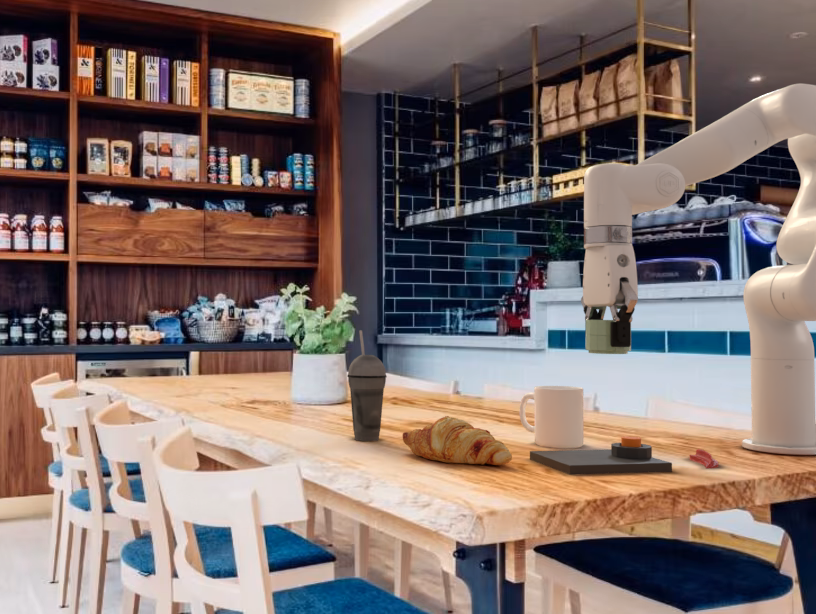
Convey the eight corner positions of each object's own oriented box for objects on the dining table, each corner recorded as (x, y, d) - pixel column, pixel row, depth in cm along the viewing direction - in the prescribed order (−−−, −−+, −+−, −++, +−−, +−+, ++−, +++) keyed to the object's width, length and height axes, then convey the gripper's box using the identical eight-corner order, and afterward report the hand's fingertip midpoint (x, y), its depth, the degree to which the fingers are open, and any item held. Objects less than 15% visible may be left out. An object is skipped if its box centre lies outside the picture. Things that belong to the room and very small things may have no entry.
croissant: (522, 489, 124) (536, 439, 127) (487, 464, 118) (503, 413, 121) (413, 467, 140) (428, 423, 142) (377, 444, 134) (394, 399, 137)
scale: (625, 457, 133) (624, 438, 133) (674, 472, 120) (674, 451, 121) (529, 460, 131) (529, 440, 131) (569, 475, 118) (569, 454, 118)
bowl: (616, 352, 141) (616, 320, 141) (639, 354, 134) (639, 320, 134) (578, 352, 140) (578, 319, 140) (599, 354, 133) (598, 319, 133)
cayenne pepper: (691, 456, 135) (691, 444, 135) (723, 458, 133) (723, 446, 133) (682, 467, 125) (682, 454, 125) (716, 470, 123) (716, 456, 123)
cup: (568, 450, 140) (568, 390, 141) (507, 442, 149) (507, 386, 150) (592, 445, 146) (592, 387, 147) (532, 438, 155) (531, 383, 155)
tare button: (634, 446, 128) (634, 436, 128) (644, 449, 125) (644, 438, 125) (617, 446, 128) (617, 436, 128) (627, 449, 125) (627, 439, 125)
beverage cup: (385, 442, 148) (385, 330, 149) (344, 441, 149) (345, 330, 150) (387, 437, 155) (387, 330, 156) (349, 436, 156) (349, 330, 157)
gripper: (658, 234, 130) (659, 348, 129) (602, 244, 147) (602, 344, 146) (614, 233, 129) (614, 347, 128) (562, 243, 146) (562, 344, 145)
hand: (607, 345), depth 137 cm, fingers closed on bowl, 7 cm apart
